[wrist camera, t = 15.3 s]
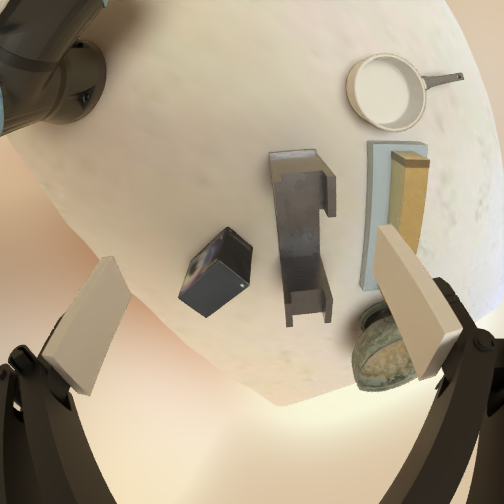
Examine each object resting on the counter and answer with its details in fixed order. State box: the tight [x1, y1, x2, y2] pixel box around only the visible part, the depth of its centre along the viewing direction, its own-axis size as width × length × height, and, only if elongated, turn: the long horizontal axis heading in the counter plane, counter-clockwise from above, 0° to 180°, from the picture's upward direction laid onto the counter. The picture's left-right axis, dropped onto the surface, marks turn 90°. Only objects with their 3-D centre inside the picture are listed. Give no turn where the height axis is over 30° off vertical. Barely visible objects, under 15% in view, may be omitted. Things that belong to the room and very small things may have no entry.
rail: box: [378, 151, 430, 304], centre depth 41 cm, size 4×26×5 cm, turn 8°
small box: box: [178, 227, 253, 318], centre depth 46 cm, size 11×6×10 cm, turn 136°
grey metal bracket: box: [269, 149, 336, 327], centre depth 41 cm, size 7×24×12 cm, turn 8°
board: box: [360, 141, 428, 291], centre depth 44 cm, size 10×28×2 cm, turn 8°
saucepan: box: [346, 53, 464, 132], centre depth 30 cm, size 12×20×6 cm, turn 116°
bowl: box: [352, 302, 418, 392], centre depth 52 cm, size 20×19×15 cm
